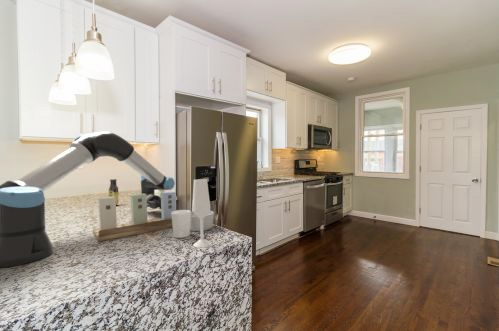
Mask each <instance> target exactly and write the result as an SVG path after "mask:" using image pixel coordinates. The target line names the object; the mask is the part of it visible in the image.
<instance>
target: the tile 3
mask: <svg viewBox="0 0 499 331" xmlns="http://www.w3.org/2000/svg"><path fill="white" fill-rule="evenodd" d="M160 211H161V212H160V213H161V214H160V215H161V218H162V220H164V219H170V218H172V216H171V212H173V211H177V196H176V191H165V192H163V193H161V209H160Z"/></svg>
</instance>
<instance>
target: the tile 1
mask: <svg viewBox="0 0 499 331" xmlns="http://www.w3.org/2000/svg"><path fill="white" fill-rule="evenodd" d="M98 221H99V222H98V223H99V228H100V230H105V229H111V228H117V222H118V221H117V206H116V197H109V196H107V197H105V196H104V197H98Z"/></svg>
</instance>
